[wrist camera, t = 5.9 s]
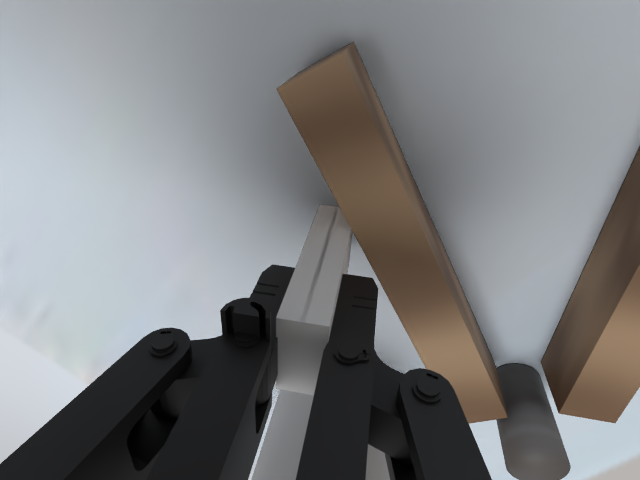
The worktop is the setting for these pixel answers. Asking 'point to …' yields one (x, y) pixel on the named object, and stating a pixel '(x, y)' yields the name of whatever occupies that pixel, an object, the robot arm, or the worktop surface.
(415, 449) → the robot arm
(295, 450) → the beverage can
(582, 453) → the worktop surface
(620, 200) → the bar
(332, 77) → the bar
